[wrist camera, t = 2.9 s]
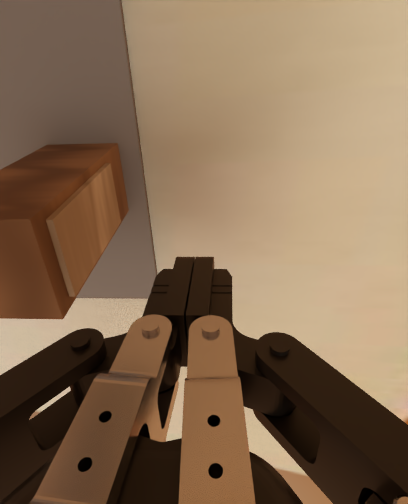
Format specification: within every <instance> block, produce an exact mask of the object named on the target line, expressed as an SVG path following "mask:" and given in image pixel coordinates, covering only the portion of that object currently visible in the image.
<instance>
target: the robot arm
mask: <svg viewBox="0 0 408 504" xmlns="http://www.w3.org/2000/svg"><path fill="white" fill-rule="evenodd" d="M181 366H186V367H187V378H185V384H184V403H183V424H182V438H181V439H176V440H172V441H167V442H166V436H167V432H168V428H169V423H170V419H171V415H172V411H173V407H174V403H175V399H176V395H177V391H178V386H179V382H178V378H179V373H180V367H181ZM69 386H70V388H71V391H70V392H68V393H67V394H66V395H64V396H63V397H61V398H60V399H59V400H57V401H56V402H54V403H53V404H52V405H50V406H49V407H47V408H46V409H45V410H43V411H42V412H41V413H39V414H38V415H37V416H35V417H34V418H32V419H30V420H29V418H30V416H31V415H32V414H33V413H34V412H35V411H36V410H37V409H38V408H40V407H41V406H42V405H44V404H45V403H47V402H48V401H49V400H51V399H52V398H54V397H55V396H57V395H58V394H59V393H61V392H62V391H64V390H65V389H66V388H68V387H69ZM244 406H245V407H248V408H250V409H253V411H254V414H255V416H256V418H257V419H258V420H259V421H260V422H261V423H262V425H263V426H264V427H265V428H266V429H267V430H268V431H269V432H270V433H271V435H272V436H273V437H274V438H275V439H276V440H277V441H278V442H279V444H280V445H281V446H282V447H283V448H284V449H285V450H286V451H287V452H288V454H289V455H290V456H291V457H292V458H293V459H294V460H295V461H296V463H297V464H298V465H299V466H300V467H301V468H302V469H303V470H304V471H305V473H306V474H307V475H308V476H309V477H310V478H311V479H312V480H313V482H314V483H315V484H316V485H317V486H318V487H319V488H320V489H321V491H322V492H323V493H324V494H325V495H326V496H327V497H328V498H329V499H330V500H331V502H332V503H333V504H408V425H407V424H406V423H405V422H403V421H402V420H401V419H399V418H398V417H397V416H396V415H394V414H393V413H392V412H390V411H389V410H388V409H386V408H385V407H384V406H383V405H381V404H380V403H379V402H377V401H376V400H375V399H373V398H372V397H371V396H370V395H368V394H367V393H366V392H364V391H363V390H362V389H360V388H359V387H358V386H357V385H355V384H354V383H353V382H351V381H350V380H349V379H347V378H346V377H345V376H344V375H342V374H341V373H340V372H338V371H337V370H336V369H334V368H333V367H332V366H331V365H329V364H328V363H327V362H325V361H324V360H323V359H321V358H320V357H319V356H318V355H316V354H315V353H314V352H312V351H311V350H310V349H309V348H307V347H306V346H305V345H303V344H302V343H301V342H299V341H298V340H297V339H295V338H294V337H292V336H290V335H288V334H285V333H279V332H273V333H268V334H265V335H263V336H262V337H260V339H259V340H257V339H253V338H250V337H247V336H245V335H243V334H241V333H240V332H239V331H237V330H236V328H235V327H234V325H233V322H232V276H231V275H230V273H229V272H228V271H227V269H214V257H196V258H195V257H176V260H175V264H174V268H173V269H163V270H162V271H161V272H160V273H159V274H158V275H157V276H156V277H155V280H154V283H153V287H152V289H151V294H150V295H149V298H148V301H147V304H146V307H145V310H144V313H143V316H142V317H141V318H139V319H137V320H136V321H135V322H133V324H132V325H131V326H130V328H129V330H128V332H127V333H125V334H122V335H119V336H114V337H110V338H105V339H104V338H103V335H102V333H101V332H100V331H98V330H96V329H91V328H86V329H80V330H76V331H74V332H72V333H70V334H68V335H67V336H65V337H63V338H62V339H60V340H58V341H57V342H55V343H53V344H52V345H50V346H48V347H47V348H45V349H43V350H42V351H40V352H38V353H37V354H35V355H33V356H32V357H30V358H28V359H27V360H25V361H23V362H22V363H20V364H18V365H17V366H15V367H13V368H12V369H10V370H8V371H7V372H5V373H3V374H2V375H0V504H303V503H302V502H301V500H300V499H299V498H298V496H297V495H296V494H295V493H294V491H293V490H292V489H291V487H290V486H289V485H288V484H287V482H286V481H285V480H284V478H283V477H282V476H281V475H280V474H279V473H278V472H277V471H276V470H275V469H274V468H273V467H272V466H271V465H270V464H269V463H267V462H266V461H265V460H264V459H262V458H260V457H259V456H257V455H256V454H254V453H251V452H249V446H248V438H247V430H246V422H245V413H244Z"/></svg>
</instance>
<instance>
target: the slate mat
mask: <svg viewBox="0 0 408 504" xmlns="http://www.w3.org/2000/svg"><path fill="white" fill-rule="evenodd" d="M98 143H118V148H119V154H120V160H121V166H122V172H123V178H124V184H125V190H126V196H127V202H128V208H129V211H128V213H127V214H126V216H125V218H124V219H123V221H122V223H121V224H120V226H119V228H118V229H117V231H116V233H115V234H114V236H113V237H112V239H111V241H110V242H109V244H108V246H107V247H106V249H105V251H104V252H103V254H102V256H101V257H100V259H99V261H98V262H97V264H96V266H95V267H94V269H93V271H92V272H91V274H90V276H89V277H88V279H87V280H86V282H85V284H84V285H83V287H82V289H81V290H80V292H79V294H78V295H77V297H76V298H140V299H148V298H149V295H150V294H151V289H152V287H153V283H154V280H155V277H156V276H157V269H156V262H155V254H154V246H153V239H152V231H151V223H150V216H149V208H148V201H147V193H146V185H145V178H144V170H143V163H142V155H141V147H140V140H139V132H138V124H137V117H136V109H135V102H134V94H133V86H132V79H131V71H130V63H129V56H128V48H127V41H126V33H125V25H124V18H123V10H122V2H121V0H0V170H1V169H3V168H4V167H6V166H8V165H10V164H12V163H14V162H16V161H18V160H19V159H21V158H23V157H25V156H27V155H29V154H31V153H32V152H34V151H36V150H38V149H40V148H42V147H44V146H46V145H56V144H98Z"/></svg>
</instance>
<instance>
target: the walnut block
mask: <svg viewBox="0 0 408 504" xmlns="http://www.w3.org/2000/svg"><path fill="white" fill-rule="evenodd" d="M128 211H129V208H128V202H127V196H126V190H125V184H124V178H123V172H122V166H121V160H120V154H119V148H118V143H98V144H56V145H46V146H44V147H42V148H40V149H38V150H36V151H34V152H32V153H31V154H29V155H27V156H25V157H23V158H21V159H19V160H18V161H16V162H14V163H12V164H10V165H8V166H6V167H4V168H3V169H1V170H0V318H17V319H63V318H64V317H65V315H66V314H67V312H68V310H69V309H70V307H71V305H72V304H73V302H74V300H75V299H76V297H77V295H78V294H79V292H80V290H81V289H82V287H83V285H84V284H85V282H86V280H87V279H88V277H89V276H90V274H91V272H92V271H93V269H94V267H95V266H96V264H97V262H98V261H99V259H100V257H101V256H102V254H103V252H104V251H105V249H106V247H107V246H108V244H109V242H110V241H111V239H112V237H113V236H114V234H115V233H116V231H117V229H118V228H119V226H120V224H121V223H122V221H123V219H124V218H125V216H126V214H127V213H128Z"/></svg>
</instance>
